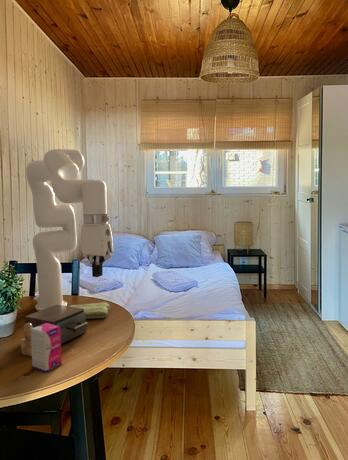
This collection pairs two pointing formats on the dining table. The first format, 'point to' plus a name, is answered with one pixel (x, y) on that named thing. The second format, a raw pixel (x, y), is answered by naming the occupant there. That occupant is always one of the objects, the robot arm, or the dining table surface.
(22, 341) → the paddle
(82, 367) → the dining table surface
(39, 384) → the dining table surface
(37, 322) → the cabinet
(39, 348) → the supplement box
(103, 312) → the washcloth
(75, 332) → the drawer
